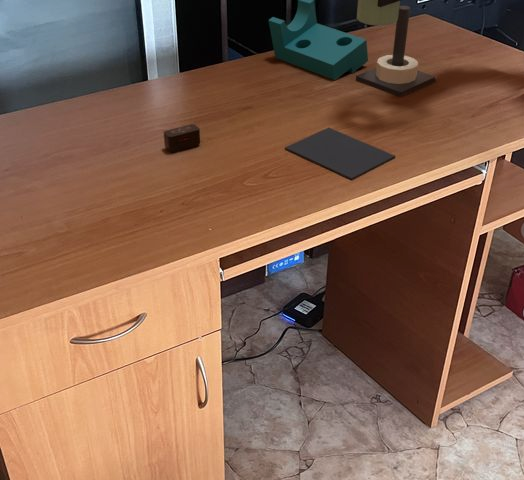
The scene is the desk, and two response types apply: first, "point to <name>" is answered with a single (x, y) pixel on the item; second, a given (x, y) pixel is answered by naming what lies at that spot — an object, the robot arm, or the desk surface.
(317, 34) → the teal l-shaped bracket
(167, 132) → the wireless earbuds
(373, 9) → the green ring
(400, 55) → the stack stand
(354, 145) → the mat
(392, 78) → the cream ring
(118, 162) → the desk surface
